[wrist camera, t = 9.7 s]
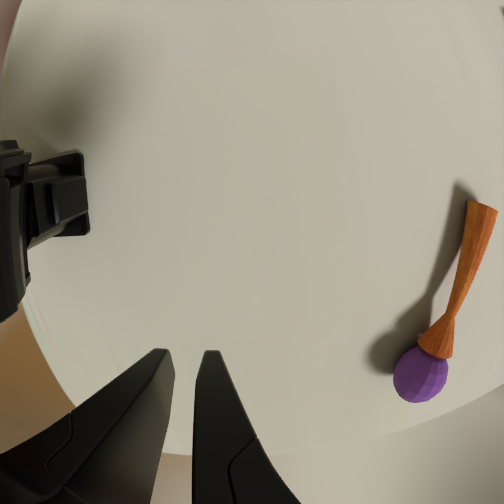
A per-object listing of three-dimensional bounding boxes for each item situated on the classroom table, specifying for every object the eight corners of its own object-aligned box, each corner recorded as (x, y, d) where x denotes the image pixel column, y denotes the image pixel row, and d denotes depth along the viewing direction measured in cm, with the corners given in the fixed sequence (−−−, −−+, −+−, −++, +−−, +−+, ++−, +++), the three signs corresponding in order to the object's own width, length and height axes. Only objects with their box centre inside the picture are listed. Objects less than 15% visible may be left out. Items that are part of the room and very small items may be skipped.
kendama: (517, 221, 15) (439, 406, 20) (472, 208, 21) (409, 376, 26) (496, 204, 14) (404, 420, 19) (443, 192, 19) (374, 383, 24)
